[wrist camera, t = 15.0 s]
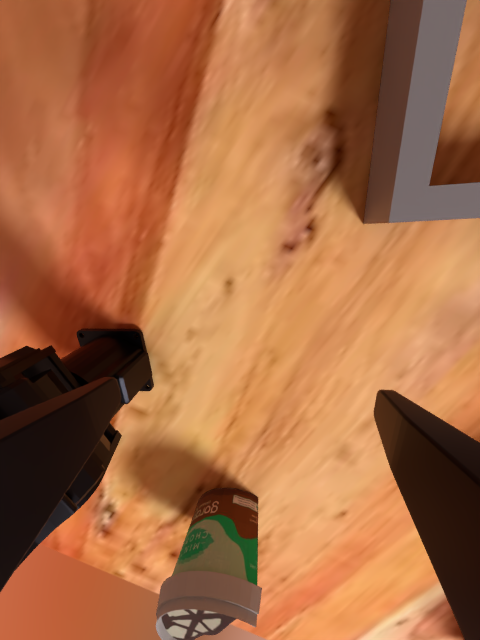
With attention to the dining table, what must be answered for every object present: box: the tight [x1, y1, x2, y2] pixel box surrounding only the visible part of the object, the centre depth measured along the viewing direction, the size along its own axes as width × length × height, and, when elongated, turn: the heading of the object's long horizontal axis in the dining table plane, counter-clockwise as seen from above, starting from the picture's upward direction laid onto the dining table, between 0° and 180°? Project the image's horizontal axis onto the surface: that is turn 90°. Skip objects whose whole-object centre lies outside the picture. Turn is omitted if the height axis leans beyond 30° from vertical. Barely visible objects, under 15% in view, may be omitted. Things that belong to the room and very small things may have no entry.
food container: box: [156, 488, 262, 640], centre depth 25 cm, size 12×6×10 cm, turn 145°
